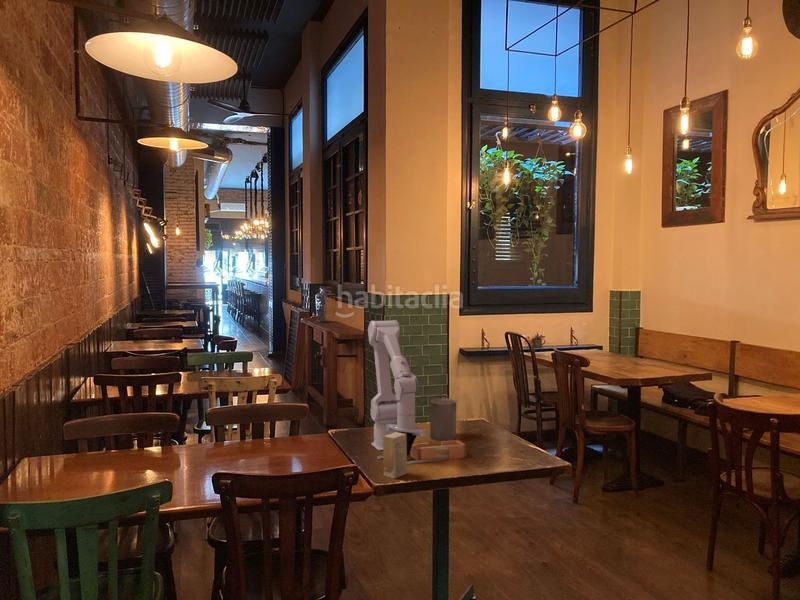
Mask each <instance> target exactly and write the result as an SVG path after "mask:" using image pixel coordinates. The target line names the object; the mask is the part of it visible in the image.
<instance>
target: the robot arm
mask: <svg viewBox="0 0 800 600" xmlns="http://www.w3.org/2000/svg"><path fill="white" fill-rule="evenodd" d="M400 330H401V329H400V323H399V322H398V320H396V319H393V320H370V322H369V324H368V327H367V335H368V342H369V343H368V344H369V345H370V346H371V347H373V353H374V362H375V365H374V366H375V375H376V387H377V394H376V395H375V396H374V397H373V398H372V399H371V401H370V417H371V419H372V420H373V422H374V424H373V442H371V445H372V447H374V448H375V449H376V450H377V451H383V436H385V435H388V434H391V433H394V432H398V433H404V434H406V444H407V457H410V456H409V455H410V453H411V448H412V444H414V442H415V440H416V438H417V437H418V436H419V437H421V438H425V437H427V429H424V428H421V427H417V426H416V394H417V393H418V391H419V381H418V378H417V376H416V375H414V373H413V372H411V369H410V366H409V363H408V360H407V358H406V357H404V356H402V352H401V348H400V343H399V336H400ZM390 358H391V360H390ZM391 373H392V375H393V377H394V378H393V379H394V385H393V388H392V378H391ZM393 389H394V393H395V394H394V393H393Z"/></svg>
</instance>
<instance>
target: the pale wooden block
mask: <svg viewBox="0 0 800 600" xmlns="http://www.w3.org/2000/svg"><path fill="white" fill-rule="evenodd" d="M455 445H457V444H454V445H444V446H441V445H436V446H435V445H434V446H429V447H422V448H420V449H423V448H434V447H435V448H436V458H443V457H448V446H455Z"/></svg>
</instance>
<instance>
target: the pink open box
mask: <svg viewBox="0 0 800 600" xmlns="http://www.w3.org/2000/svg"><path fill="white" fill-rule="evenodd" d="M454 444H457V445H455V446H448V460H451V459H452V458H454V459H461V458H462V459H463V458H467V444H465V443H464V442H462V441H460V440H458V439H453V440H447V441H441V440H440V446H444V445H454Z"/></svg>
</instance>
